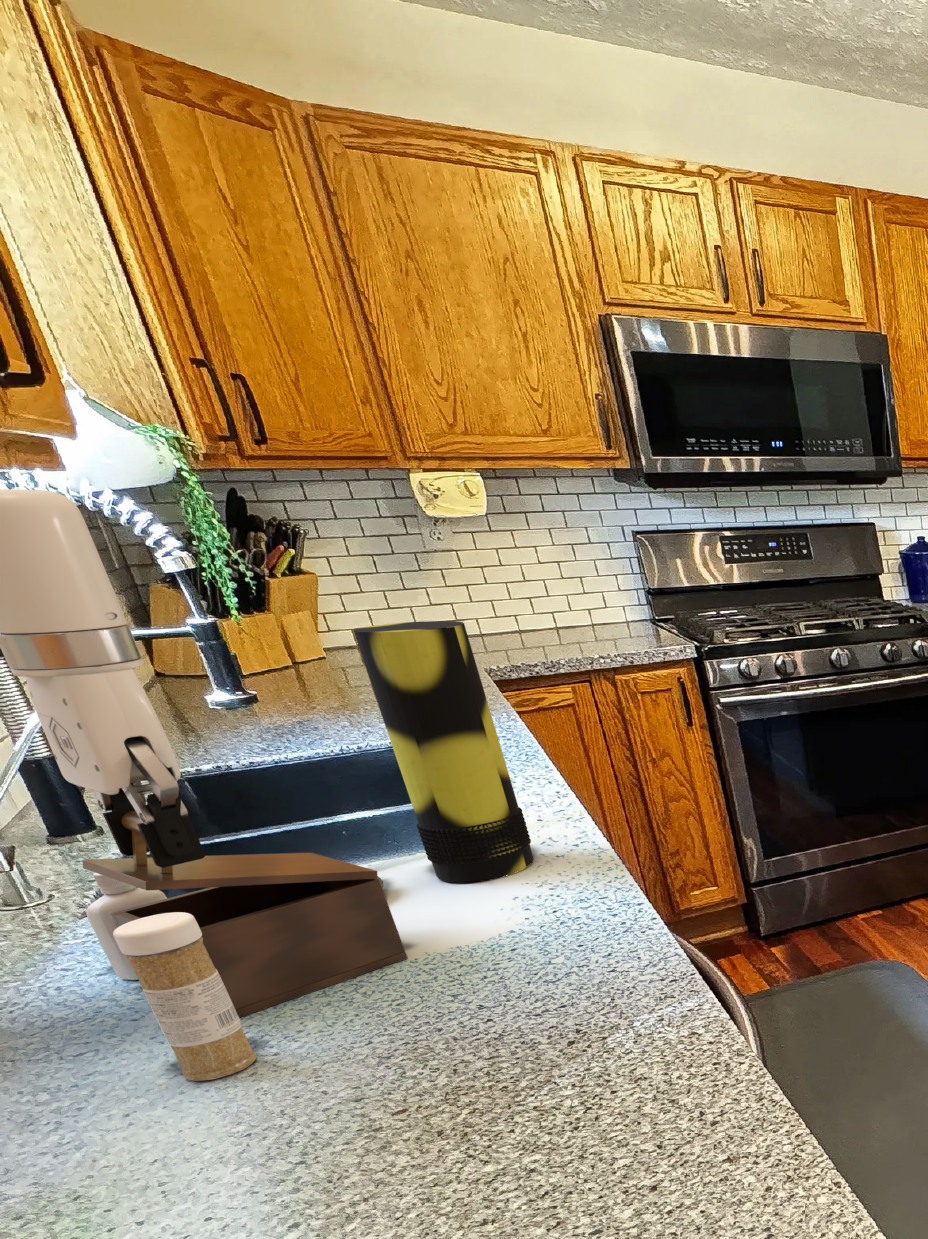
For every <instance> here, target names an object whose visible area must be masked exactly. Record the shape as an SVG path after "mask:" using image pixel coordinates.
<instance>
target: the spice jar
mask: <svg viewBox="0 0 928 1239" xmlns="http://www.w3.org/2000/svg"><path fill="white" fill-rule="evenodd" d="M113 935H114V938H115V940H116V942H117V945H118V947H119V949H120V951H121V952H122V953H123V954H125V955H126V957H127V958H128V959H129V961H130V963H131V965H132V967H133V969H134V972H135V973H136V975H137V977H138V981H139V984H140V986H141V988H142V992H143V994H144V997H145V998H146V1000H147V1003H148V1004H149V1006H150V1008H151V1011H152V1013H153V1015H154V1017H155V1020H156V1022H157V1024H158V1025H159V1028H160V1030H161V1032H162V1033H163V1036H164V1038H165V1040H166V1042H167V1044H168V1045H170V1048H171V1050H172V1051H173V1053H174V1055H175V1057H176V1059H177V1061H178V1063H179V1066H180V1067H181V1069H182V1076H183V1077H184V1078H185V1079H187V1080H189V1081H198V1082H200V1081H210V1080H216V1079H217V1080H218V1079H220V1078H224V1077H226V1076H230V1075H234V1074H236V1073H238V1072H240V1071H242V1070H244V1069H246V1068H248V1067H250V1066H251V1065H252V1064H253V1063H254V1062H255V1061H256V1059H257V1054H256V1052H255V1050H254V1049H253V1048H252V1046H251V1045H250V1043H249V1041H248V1037H247V1036H246V1035H245V1034H246V1033H245V1032H244V1028H243V1027H242V1026H243V1025H242V1021H241V1019H240V1018H239V1017H238V1015H237V1012H236V1010H235V1008H234V1006H233V1003H232V1001H231V999H230V997H229V995H228V992H227V990H226V988H225V986H224V984H223V981H222V979H221V977H220V975H219V973H218V971H217V969H215V967H214V965H213V963H212V961H211V959H210V957H209V954H208V952H207V950H206V948H205V946H204V944H203V938H202V937H201V936H202V932H201V930H200V928H199V926H198V924H197V922H196V920H195V918H194V916H193V915H191V914H189V913H184V912H173V913H164V914H158V915H152V916H148V917H144V918H140V919H137V920H134V921H131V922H128V923H125V924H123V925H121V926H119V927H118V928H116V929H115V930H114V932H113Z"/></svg>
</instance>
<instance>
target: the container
mask: <svg viewBox="0 0 928 1239" xmlns="http://www.w3.org/2000/svg"><path fill="white" fill-rule="evenodd" d="M352 633H353V634H354V635H353V636H354V637H355V640H356V644H357V646H358V649H359V652H360V655H361V658H362V661H363V664H364V667H365V670H366V673H367V676H368V679H369V682H370V685H371V687H372V691H373V694H374V696H375V700H376V703H377V705H378V708H379V712H380V714H381V717H382V720H383V723H384V726H385V730H386V732H387V734H388V737H389V738H388V739H389V740H390V743H391V747H392V749H393V753H394V755H395V758H396V762H397V764H398V767H399V770H400V773H401V776H402V779H403V782H404V785H405V788H406V792H407V794H408V797H409V800H410V804H411V805H412V809H413V812H414V814H415V818H416V820H417V824H416V828H417V830H418V832H417V833H418V834H419V837H420V841H421V842H422V846H423V849H424V851H425V855H426V856H427V857H426V858H427V860H428V861H429V862H431V865H432V867H433V871H434V873H435V875H436V877H437V879H438V880H440V881H443V882H446V883H450V884H451V883H452V884H469V883H470V884H471V883H479V882H487V881H491V880H490V879H492V880H497V879H501V878H504V877H503V876H505V877H507V876H506V875H508V876H512V875H514V873H515V872H517V871H519V872H521V871H523V870H522V869H524V868H526V867H527V868H529V867H530V866H531V865H532V864H533V863H534V859H535V858H534V855H533V851H532V848H531V844H532V839H531V838H530V837H531V836H530V834H529V830H528V826H527V823H526V821H525V817H524V813H523V809H522V808H521V807H519V803H518V800H517V796H516V794H515V790H514V787H513V784H512V781H511V776H510V773H509V771H508V767H507V764H506V759H505V756H504V753H503V750H502V747H501V743H500V740H499V736H498V733H497V730H496V725H495V723H494V720H493V716H492V713H491V709H490V706H489V703H488V700H487V696H486V693H485V689H484V686H483V683H482V680H481V676H480V672H479V669H478V665H477V663H476V659H475V655H474V652H473V648H472V645H471V642H470V639H469V635H468V632H467V629H466V625H465V622H463V621H457V620H432V621H431V620H428V621H423V620H421V621H405V622H396V623H394V622H393V623H383V624H374V625H368V626H362V627H361V626H360V627H356V628H354V629H353V630H352ZM530 864H531V865H530ZM529 865H530V866H529ZM528 866H529V867H528ZM527 868H526V869H527ZM524 870H525V869H524ZM517 873H518V872H517ZM515 874H516V873H515ZM500 877H501V878H500Z"/></svg>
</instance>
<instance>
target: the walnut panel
mask: <svg viewBox="0 0 928 1239" xmlns="http://www.w3.org/2000/svg"><path fill="white" fill-rule="evenodd" d="M140 823H143V822H142V821H141V819H140V817H139V816H138V814H137V812H136V811H131V812H128V813H126V814H125V815H124V816H123V817H122V824H123V826H124V827H125V828H127V829H129V830H132V846H133V855H132V857H128V858H127V857H125V858H123V857H122V858H120V857H119V858H111V859H99V858H91V859H90V858H89V859H87V858H86V859H82V869H84V870H87V871H89V872H93V873H98V874H101V875H104V876H106V877H109V878H112V879H115V880H118V881H121V882H124V883H126V884H129V885H132V886H135V887H136V888H141V889H143V890H146V891H150V890H159V891H165V890H166V891H167V890H168V891H169V890H185V889H186V890H188V889H206V888H209V887H227V886H246V885H265V884H284V883H303V882H322V881H341V880H361V879H377V876H378V870H375V869H371V868H369V867H365V866H362V865H357V864H354V863H350V862H347V861H342V860H339V859H335V858H332V857H329V856H325V855H321V854H317V853H314V852H289V853H286V852H285V853H284V852H283V853H251V854H224V855H223V854H221V855H205V857H204V858H202V859H199V860H195V861H190V862H186V863H182V864H178V865H173V866H169V867H164V868H163V867H159V866H157V865H155V863H154V861H153V858H152V857H148V854H147V853H148V852H147V850H146V843H145V841H144V838H143V836H142V834H141V832H140V830H139V827H138V825H137V824H140Z"/></svg>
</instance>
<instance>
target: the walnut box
mask: <svg viewBox="0 0 928 1239" xmlns="http://www.w3.org/2000/svg"><path fill="white" fill-rule="evenodd" d="M173 912H184V913H189V914H191V915H193V916H194V918H195V920H196V922H197V924H198V926H199V928H200V930H201V932H202V936H201V937H202V938H203V944H204V946H205V948H206V950H207V952H208V954H209V957H210V959H211V961H212V963H213V965H214V967H215V969H217V971H218V973H219V975H220V977H221V979H222V981H223V984H224V986H225V988H226V990H227V992H228V995H229V997H230V999H231V1001H232V1003H233V1006H234V1008H235V1010H236V1012H237V1015H238V1017H239V1019H240V1018H243V1017H246V1016H248V1015H252V1014H253V1013H256V1012H257V1013H258V1012H260V1011H262V1010H265V1009H269V1008H270V1007H273V1006H276V1005H279V1004H282V1003H285V1002H288V1001H291V1000H293V999H296V998H299V997H302V996H306V995H308V994H311V993H313V992H316V991H320V990H322V989H325V988H327V987H331V986H333V985H336V984H340V983H341V982H345V981H347V980H351V979H353V978H356V977H359V976H362V975H364V974H368V973H370V972H374V971H376V970H379V969H381V968H384V967H387V966H391V965H393V964H396V963H398V962H402V961H405V960H407V959H409V958H408V954H407V953H406V949H405V947H404V944H403V940H402V939H401V936H400V932H399V930H398V928H397V925H396V922H395V919H394V917H393V913H392V911H391V909H390V906H389V903H388V900H387V897H386V896H385V892H384V890H383V888H382V887H381V884H380V881H379V879H361V880H341V881H322V882H303V883H284V884H265V885H246V886H227V887H208V888H201V889H198V890H194V891H191V892H187V893H182V894H179V895H176V896H172V897H171V896H170V897H167V899H163V900H160V901H156V902H152V903H148V904H144V905H140V906H137V907H133V908H129V909H125V910H121V911H117V912H114V913H110V914H111V917H112V919H113V921H114V923H115V925H116V927H117V928H118V927H119V926H121V925H123V924H125V923H128V922H131V921H134V920H137V919H140V918H144V917H148V916H152V915H158V914H164V913H173Z"/></svg>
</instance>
